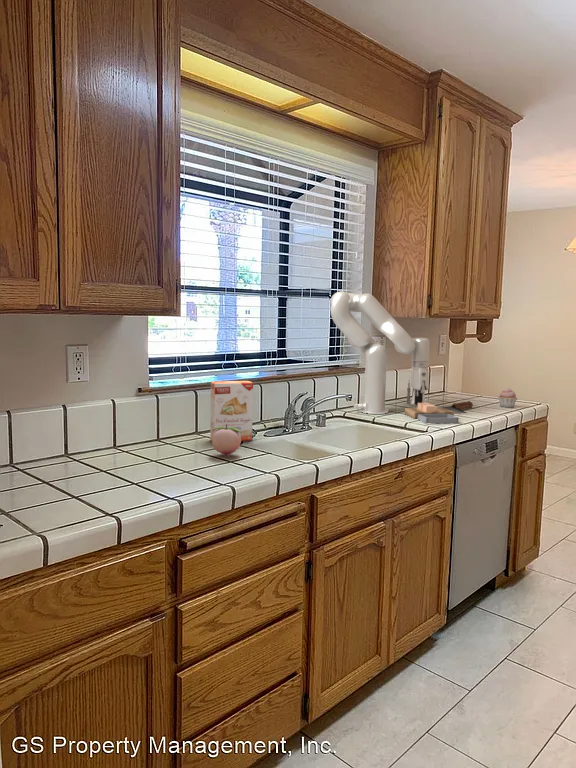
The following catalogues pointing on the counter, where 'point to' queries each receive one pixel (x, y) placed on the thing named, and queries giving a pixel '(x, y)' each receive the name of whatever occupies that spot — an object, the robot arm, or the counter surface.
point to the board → (415, 411)
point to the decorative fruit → (226, 440)
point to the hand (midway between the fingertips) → (418, 404)
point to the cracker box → (232, 407)
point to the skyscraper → (412, 397)
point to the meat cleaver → (459, 407)
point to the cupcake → (507, 398)
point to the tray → (437, 418)
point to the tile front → (429, 408)
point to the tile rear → (422, 405)
